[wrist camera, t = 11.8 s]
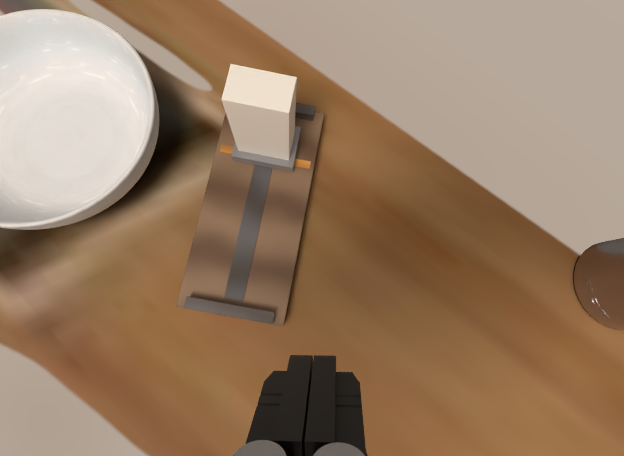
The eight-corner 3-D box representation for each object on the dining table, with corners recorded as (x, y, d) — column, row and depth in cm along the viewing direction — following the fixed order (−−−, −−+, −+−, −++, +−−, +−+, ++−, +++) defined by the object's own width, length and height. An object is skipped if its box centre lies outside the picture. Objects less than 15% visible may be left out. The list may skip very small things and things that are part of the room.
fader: (292, 172, 37) (294, 122, 27) (233, 160, 36) (212, 106, 27) (300, 132, 37) (304, 70, 28) (242, 120, 37) (226, 54, 27)
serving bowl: (86, 22, 41) (47, -33, 35) (218, 142, 39) (203, 109, 33) (-76, 145, 37) (-156, 110, 31) (61, 286, 35) (8, 282, 29)
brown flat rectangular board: (283, 325, 36) (283, 327, 33) (182, 306, 36) (172, 306, 32) (322, 122, 41) (325, 107, 37) (233, 105, 40) (228, 88, 37)
